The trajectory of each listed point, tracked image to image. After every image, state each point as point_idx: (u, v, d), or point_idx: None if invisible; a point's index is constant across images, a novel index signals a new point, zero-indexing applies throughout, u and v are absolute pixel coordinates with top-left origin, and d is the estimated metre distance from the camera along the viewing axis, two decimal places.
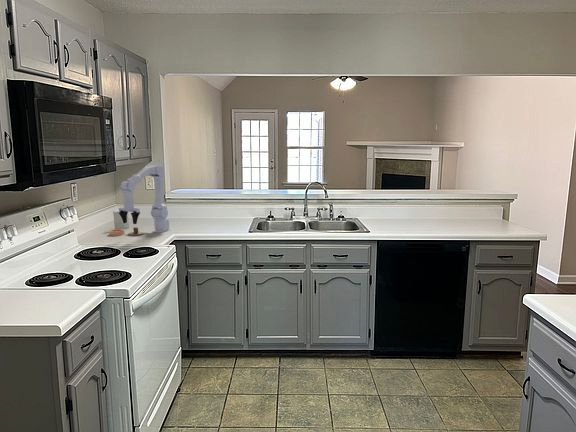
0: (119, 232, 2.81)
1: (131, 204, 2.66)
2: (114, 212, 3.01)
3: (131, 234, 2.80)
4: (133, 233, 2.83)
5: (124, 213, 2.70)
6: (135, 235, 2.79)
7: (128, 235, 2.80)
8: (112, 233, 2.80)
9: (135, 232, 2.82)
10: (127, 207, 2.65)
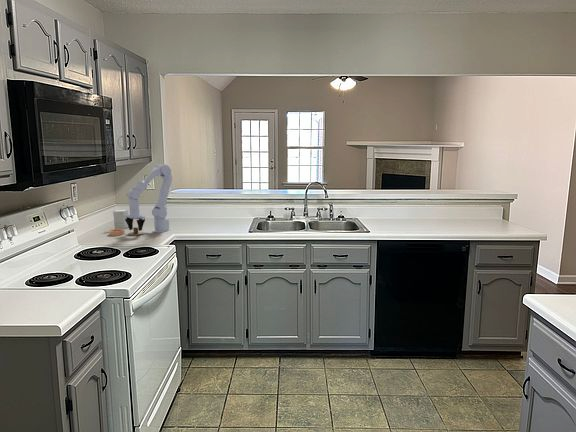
0: (119, 232, 2.81)
1: (137, 212, 2.79)
2: (114, 212, 3.01)
3: (131, 234, 2.80)
4: (133, 233, 2.83)
5: (130, 220, 2.83)
6: (135, 235, 2.79)
7: (128, 235, 2.80)
8: (112, 233, 2.80)
9: (135, 232, 2.82)
10: (133, 214, 2.79)
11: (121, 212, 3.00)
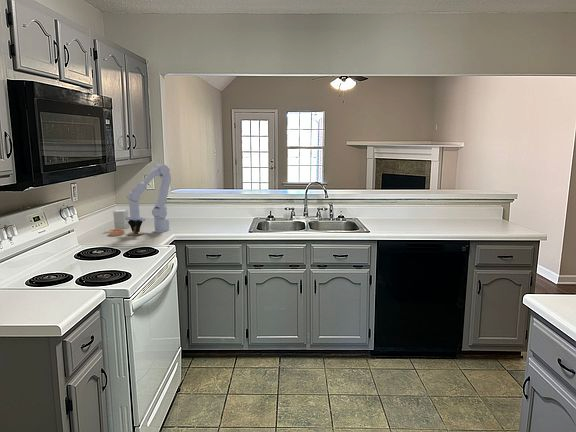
0: (119, 232, 2.81)
1: (137, 213, 2.80)
2: (114, 212, 3.01)
3: (131, 234, 2.80)
4: (133, 233, 2.83)
5: (133, 222, 2.83)
6: (135, 235, 2.79)
7: (128, 235, 2.80)
8: (112, 233, 2.80)
9: (135, 232, 2.82)
10: (133, 216, 2.79)
11: (121, 212, 3.00)
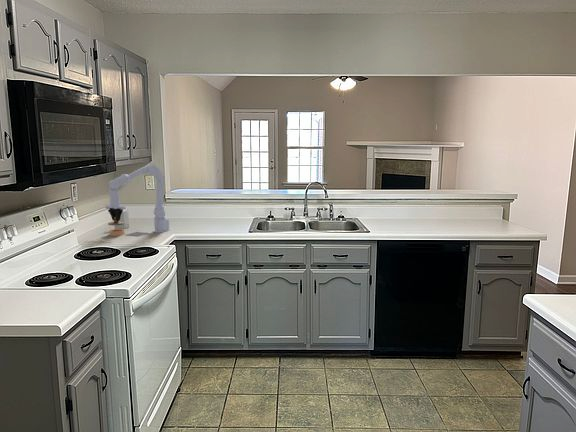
0: (119, 232, 2.81)
1: (117, 202, 2.79)
2: None
3: (111, 223, 2.80)
4: (113, 223, 2.83)
5: (113, 211, 2.83)
6: (114, 224, 2.79)
7: (128, 235, 2.80)
8: (112, 233, 2.80)
9: (115, 222, 2.82)
10: (113, 205, 2.79)
11: None
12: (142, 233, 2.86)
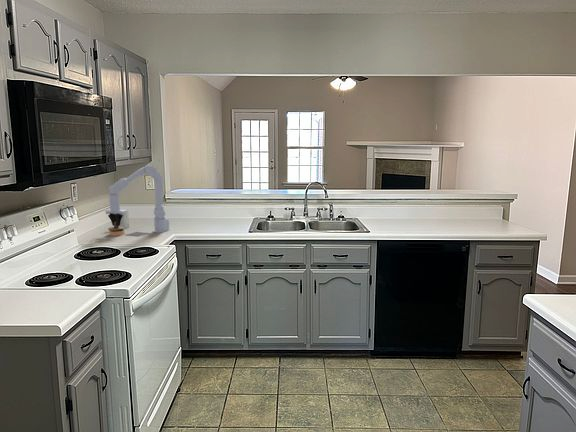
0: (119, 232, 2.81)
1: (117, 207, 2.80)
2: None
3: (111, 228, 2.80)
4: (113, 228, 2.83)
5: (113, 216, 2.83)
6: (114, 230, 2.79)
7: (128, 235, 2.80)
8: (112, 233, 2.80)
9: (115, 227, 2.82)
10: (113, 210, 2.79)
11: None
12: (142, 233, 2.86)
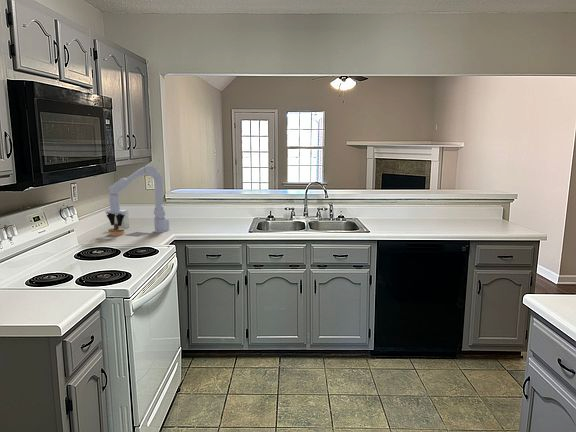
0: (119, 232, 2.81)
1: (117, 207, 2.80)
2: None
3: (111, 230, 2.80)
4: (113, 229, 2.83)
5: (112, 216, 2.84)
6: (114, 231, 2.79)
7: (128, 235, 2.80)
8: (112, 233, 2.80)
9: (115, 228, 2.82)
10: (113, 210, 2.79)
11: None
12: (142, 233, 2.86)
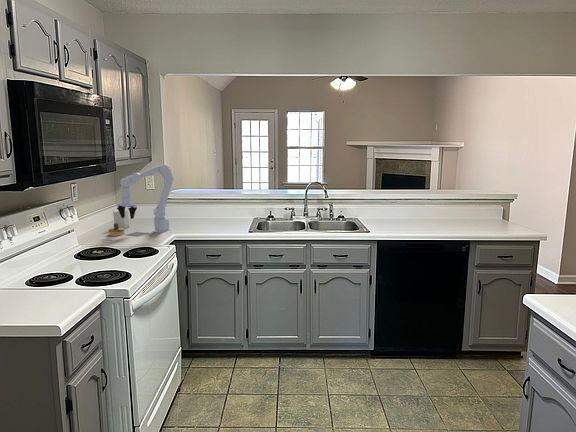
0: (119, 232, 2.81)
1: (128, 200, 2.82)
2: (114, 212, 3.01)
3: (111, 230, 2.80)
4: (113, 229, 2.83)
5: (122, 208, 2.86)
6: (114, 231, 2.79)
7: (128, 235, 2.80)
8: (112, 233, 2.80)
9: (115, 228, 2.82)
10: (125, 202, 2.81)
11: None
12: (142, 233, 2.86)
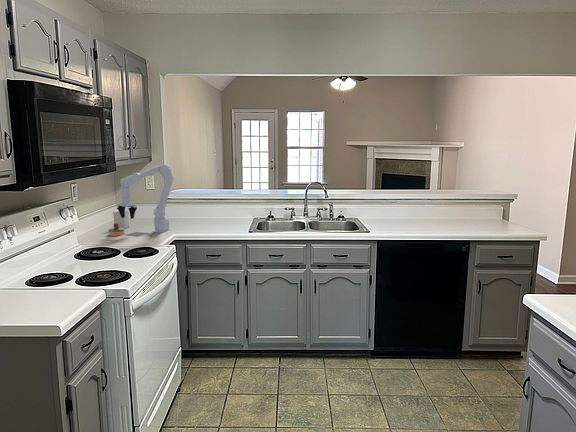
0: (119, 232, 2.81)
1: (128, 200, 2.82)
2: (114, 212, 3.01)
3: (111, 230, 2.80)
4: (113, 229, 2.83)
5: (122, 208, 2.86)
6: (114, 231, 2.79)
7: (128, 235, 2.80)
8: (112, 233, 2.80)
9: (115, 228, 2.82)
10: (125, 202, 2.81)
11: None
12: (142, 233, 2.86)
